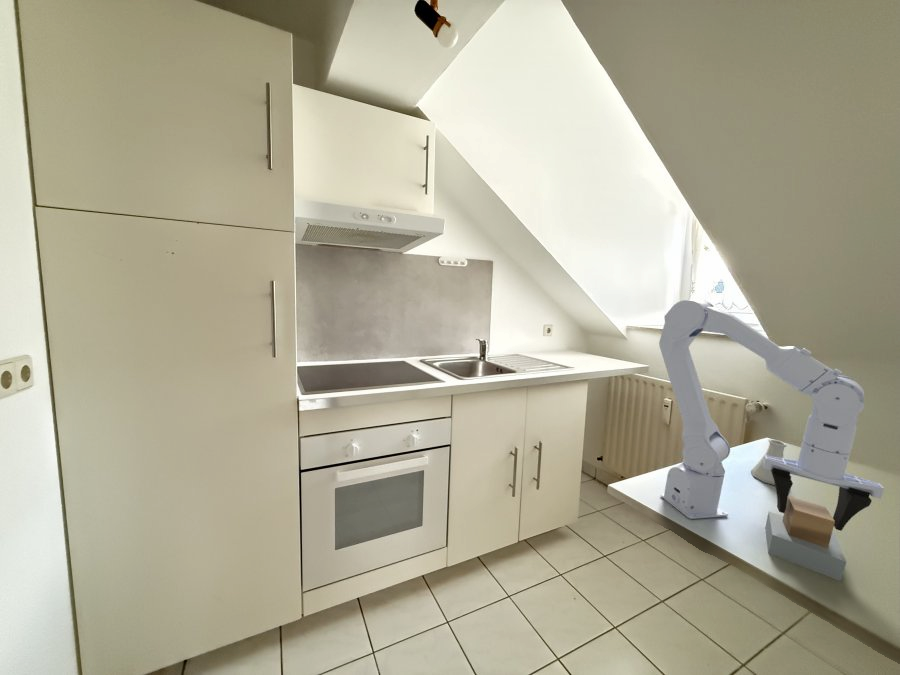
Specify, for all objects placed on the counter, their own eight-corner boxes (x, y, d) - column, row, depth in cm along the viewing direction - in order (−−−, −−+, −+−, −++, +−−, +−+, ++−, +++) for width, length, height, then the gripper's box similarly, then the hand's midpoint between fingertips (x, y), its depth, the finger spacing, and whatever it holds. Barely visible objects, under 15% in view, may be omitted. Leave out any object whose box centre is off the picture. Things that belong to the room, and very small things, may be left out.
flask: (796, 489, 86) (805, 451, 84) (761, 484, 87) (770, 446, 86) (776, 474, 93) (784, 438, 91) (744, 469, 94) (752, 434, 93)
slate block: (840, 583, 58) (846, 561, 58) (767, 554, 64) (772, 534, 63) (829, 553, 65) (834, 533, 65) (764, 529, 71) (768, 511, 70)
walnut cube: (828, 548, 61) (834, 521, 60) (788, 535, 63) (794, 509, 62) (819, 532, 65) (825, 506, 64) (782, 520, 67) (788, 496, 67)
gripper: (878, 451, 61) (858, 523, 63) (766, 427, 68) (752, 492, 71) (898, 468, 55) (875, 547, 57) (773, 439, 63) (757, 510, 65)
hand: (807, 518), depth 63 cm, fingers open, 7 cm apart
